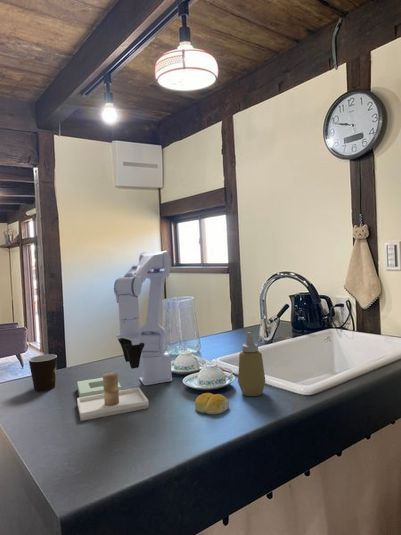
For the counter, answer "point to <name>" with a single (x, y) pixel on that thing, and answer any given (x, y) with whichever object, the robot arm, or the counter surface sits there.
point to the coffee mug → (43, 372)
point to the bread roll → (211, 403)
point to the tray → (97, 408)
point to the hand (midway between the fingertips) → (131, 364)
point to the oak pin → (111, 389)
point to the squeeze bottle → (251, 369)
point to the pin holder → (92, 387)
